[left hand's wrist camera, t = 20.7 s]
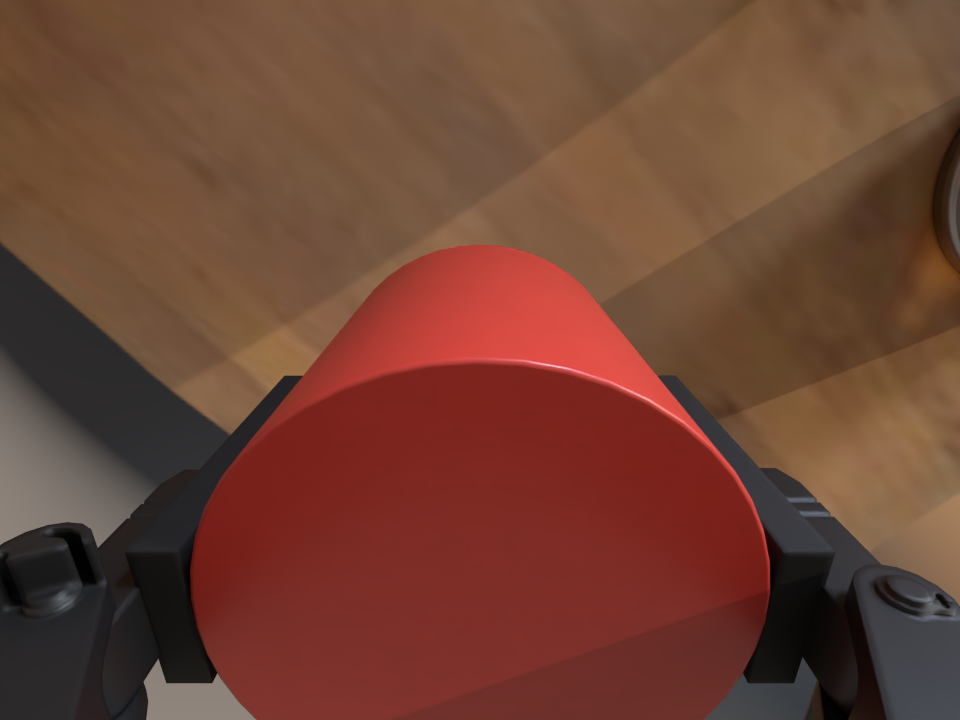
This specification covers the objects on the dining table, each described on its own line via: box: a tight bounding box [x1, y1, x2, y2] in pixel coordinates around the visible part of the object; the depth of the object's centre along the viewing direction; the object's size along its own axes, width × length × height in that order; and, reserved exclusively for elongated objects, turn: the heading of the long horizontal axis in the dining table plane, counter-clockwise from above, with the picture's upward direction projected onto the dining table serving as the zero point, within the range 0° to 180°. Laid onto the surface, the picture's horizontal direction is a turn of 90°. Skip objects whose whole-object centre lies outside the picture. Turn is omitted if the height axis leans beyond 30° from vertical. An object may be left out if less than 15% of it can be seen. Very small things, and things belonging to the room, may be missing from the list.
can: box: [190, 245, 770, 720], centre depth 12 cm, size 9×9×9 cm
